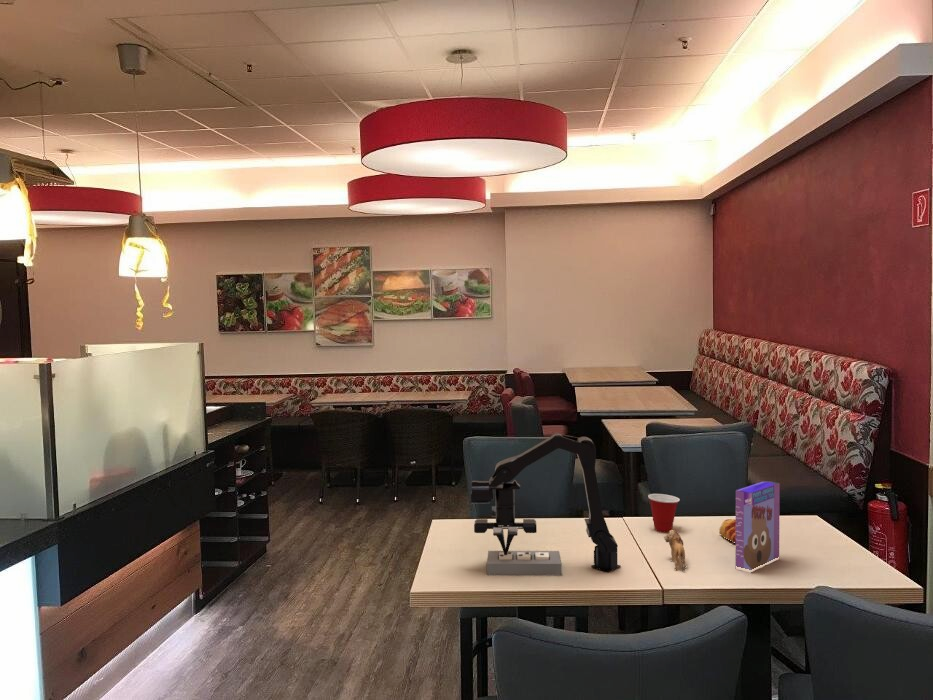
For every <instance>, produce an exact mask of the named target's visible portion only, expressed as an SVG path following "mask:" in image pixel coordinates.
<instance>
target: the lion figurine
mask: <svg viewBox="0 0 933 700" xmlns="http://www.w3.org/2000/svg"><path fill="white" fill-rule="evenodd" d="M663 539H664V541H665V542H666V543H668V545H669V546H670V549H671V550H670V554H671V559H670V560H672V561H674V562H673V563H674V566H675V567H674V569H678V570H679V567H680V568H681V570H682V571H683V572H685V571H686V569H685V568H684V567H686V566H687V565H686V553H685V547H684V540H683V539H682V537H681V535H680V533H679V532H678V531H676V530H675V529H674V530H673V529H672V530H670V531H669V532H668V533H667V534H666V535H665V536H663ZM681 560H682V561H681ZM672 561H671V562H672ZM678 565H679V567H678ZM686 568H687V567H686Z"/></svg>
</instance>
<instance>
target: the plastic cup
mask: <svg viewBox="0 0 933 700" xmlns="http://www.w3.org/2000/svg"><path fill="white" fill-rule="evenodd" d="M647 497H648V500H649V503H650V505H649V506H650V511H651V514H652V515H651V516H652V521H653V527H654V531H655V532H659V533H669V531H670V530H673V527H674V521H675V516H676V512H677V511H676V510H677V507H678V503H679V502H680V500H681V499H680V498H679V497H677V496H674V495H669V494H664V493H649V494H648V496H647Z"/></svg>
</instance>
